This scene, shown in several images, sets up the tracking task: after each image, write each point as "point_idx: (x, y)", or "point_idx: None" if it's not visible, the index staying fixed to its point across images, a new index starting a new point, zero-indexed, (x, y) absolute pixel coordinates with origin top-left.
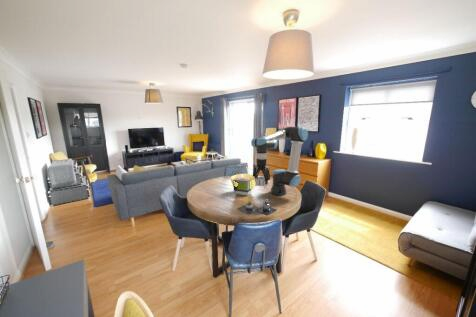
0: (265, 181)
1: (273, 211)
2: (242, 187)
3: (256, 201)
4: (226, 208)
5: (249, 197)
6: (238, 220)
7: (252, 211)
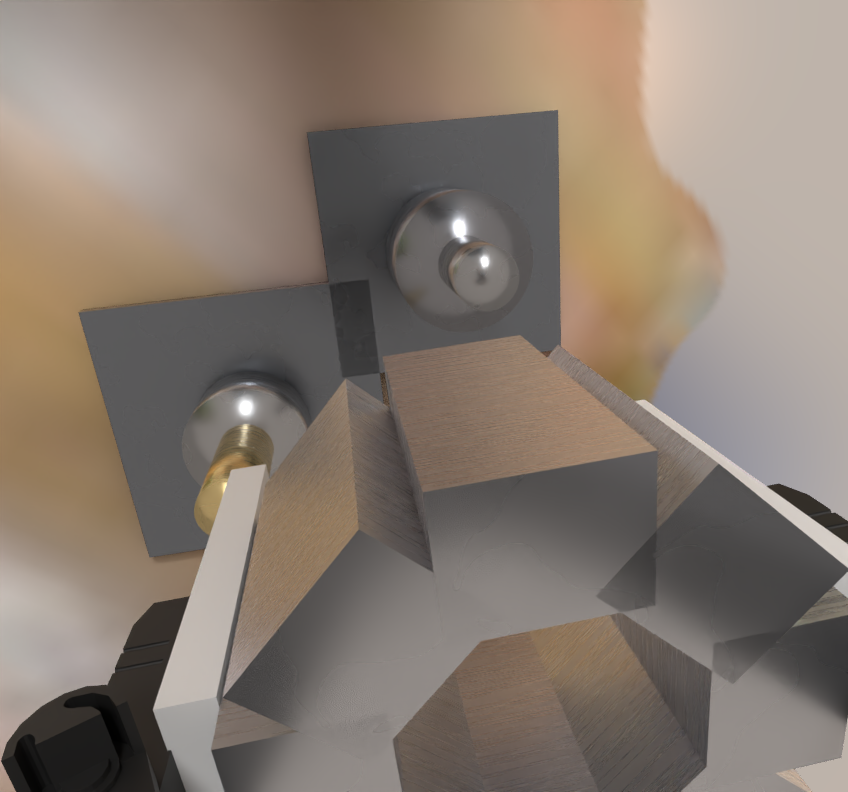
0: None
1: (556, 207)
2: None
3: (55, 129)
4: (58, 652)
5: (211, 502)
6: None
7: None
